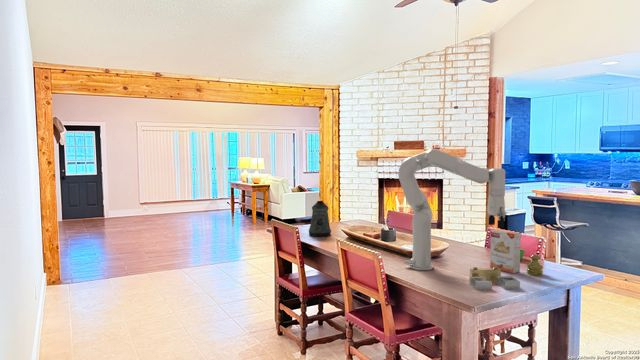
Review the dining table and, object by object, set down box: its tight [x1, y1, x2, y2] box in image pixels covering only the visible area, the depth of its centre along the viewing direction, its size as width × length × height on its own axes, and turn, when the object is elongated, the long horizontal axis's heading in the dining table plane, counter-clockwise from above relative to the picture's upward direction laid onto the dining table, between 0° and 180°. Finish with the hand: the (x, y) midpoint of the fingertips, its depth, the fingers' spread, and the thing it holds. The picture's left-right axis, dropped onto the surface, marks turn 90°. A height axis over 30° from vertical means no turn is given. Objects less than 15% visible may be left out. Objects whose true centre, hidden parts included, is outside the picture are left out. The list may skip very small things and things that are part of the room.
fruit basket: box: [520, 243, 526, 260], centre depth 264 cm, size 11×9×11 cm
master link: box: [469, 266, 502, 283], centre depth 222 cm, size 14×3×7 cm, turn 93°
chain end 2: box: [495, 275, 521, 290], centre depth 214 cm, size 7×9×4 cm
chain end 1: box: [468, 276, 493, 291], centre depth 213 cm, size 7×9×4 cm
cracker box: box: [489, 228, 522, 274], centre depth 240 cm, size 14×6×21 cm, turn 33°
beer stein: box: [308, 200, 332, 238], centre depth 338 cm, size 16×19×25 cm
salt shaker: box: [526, 253, 544, 277], centre depth 233 cm, size 7×7×10 cm
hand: (496, 226), depth 233 cm, fingers open, 9 cm apart
